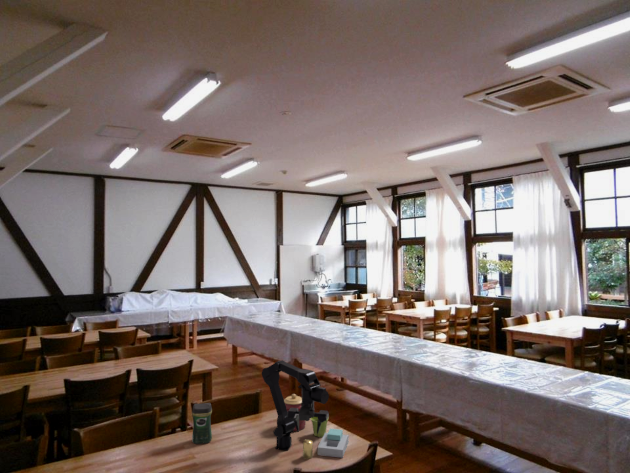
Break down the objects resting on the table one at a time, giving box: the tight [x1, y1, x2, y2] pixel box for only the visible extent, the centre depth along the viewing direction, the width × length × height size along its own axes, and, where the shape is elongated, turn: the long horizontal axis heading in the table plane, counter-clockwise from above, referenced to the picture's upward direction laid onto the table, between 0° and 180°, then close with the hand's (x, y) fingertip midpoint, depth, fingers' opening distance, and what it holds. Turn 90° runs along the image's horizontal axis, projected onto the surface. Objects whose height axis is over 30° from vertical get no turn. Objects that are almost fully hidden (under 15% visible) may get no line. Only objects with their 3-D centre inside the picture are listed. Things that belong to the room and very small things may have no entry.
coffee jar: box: [191, 402, 213, 445], centre depth 218 cm, size 10×8×19 cm
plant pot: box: [310, 417, 329, 438], centre depth 225 cm, size 9×9×9 cm
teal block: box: [327, 428, 344, 441], centre depth 213 cm, size 6×7×2 cm
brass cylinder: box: [302, 439, 314, 460], centre depth 201 cm, size 4×4×7 cm
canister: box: [283, 393, 307, 432], centre depth 236 cm, size 13×13×18 cm
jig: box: [317, 432, 350, 459], centre depth 210 cm, size 12×17×4 cm
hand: (307, 432), depth 201 cm, fingers open, 9 cm apart
